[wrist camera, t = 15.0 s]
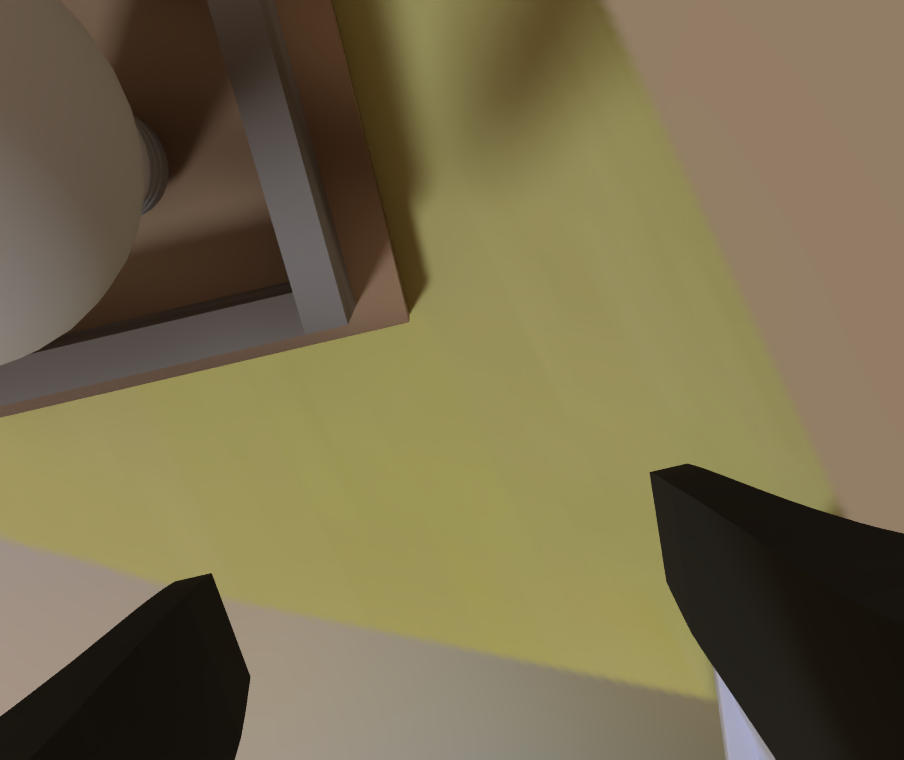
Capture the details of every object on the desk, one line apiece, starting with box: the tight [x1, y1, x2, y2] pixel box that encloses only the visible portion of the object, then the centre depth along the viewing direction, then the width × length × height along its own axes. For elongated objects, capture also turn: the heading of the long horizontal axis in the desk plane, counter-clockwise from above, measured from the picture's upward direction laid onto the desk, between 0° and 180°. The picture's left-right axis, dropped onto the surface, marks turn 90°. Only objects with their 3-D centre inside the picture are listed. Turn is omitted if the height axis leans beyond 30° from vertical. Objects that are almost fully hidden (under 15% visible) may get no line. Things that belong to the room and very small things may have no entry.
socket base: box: [0, 0, 409, 417], centre depth 16 cm, size 11×12×4 cm
